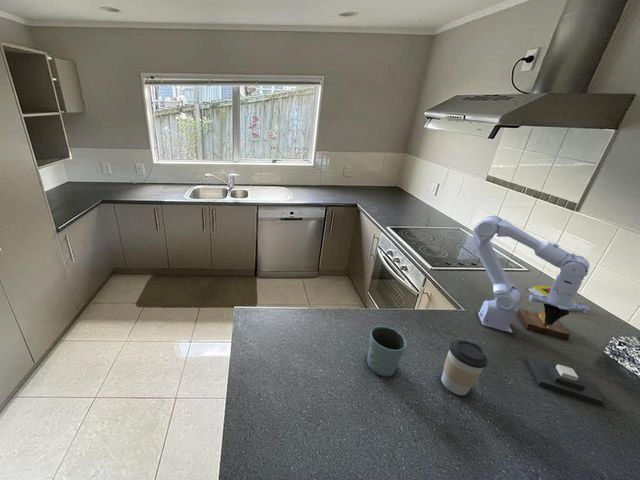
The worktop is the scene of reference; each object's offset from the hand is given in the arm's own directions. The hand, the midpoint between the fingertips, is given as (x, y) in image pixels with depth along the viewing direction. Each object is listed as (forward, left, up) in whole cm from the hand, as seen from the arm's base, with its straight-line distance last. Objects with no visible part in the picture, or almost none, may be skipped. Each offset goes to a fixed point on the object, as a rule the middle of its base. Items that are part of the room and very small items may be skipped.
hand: (548, 322), depth 99 cm
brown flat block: (+5, +12, -9) cm, 16 cm away
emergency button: (+17, +37, -10) cm, 42 cm away
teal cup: (-52, -38, -10) cm, 65 cm away
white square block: (0, -18, -6) cm, 19 cm away
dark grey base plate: (0, -18, -9) cm, 20 cm away
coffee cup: (-31, -35, -10) cm, 47 cm away
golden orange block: (+5, +12, -7) cm, 15 cm away
